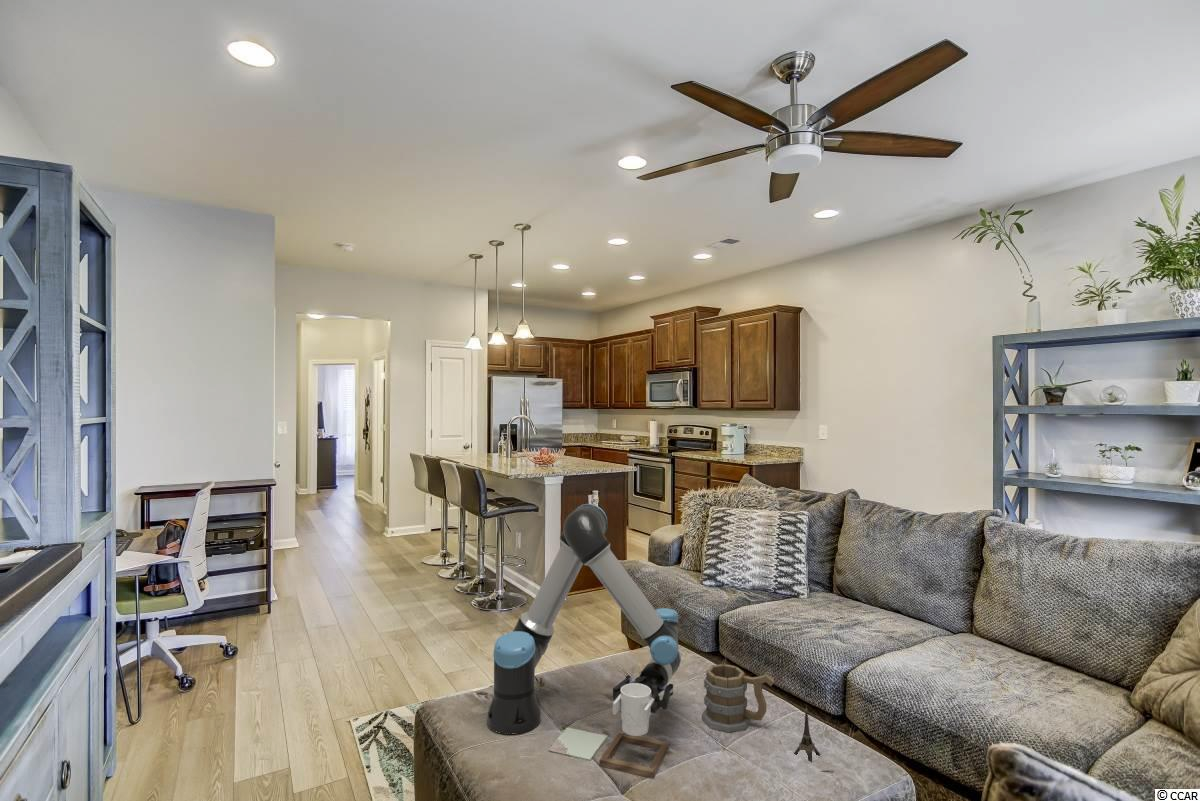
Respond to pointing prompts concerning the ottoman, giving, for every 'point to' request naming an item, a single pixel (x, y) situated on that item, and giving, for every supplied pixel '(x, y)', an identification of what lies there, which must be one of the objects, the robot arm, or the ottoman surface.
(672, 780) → the ottoman surface
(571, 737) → the sage tile
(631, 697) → the white cup
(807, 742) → the eiffel tower figurine
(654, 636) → the robot arm
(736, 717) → the tankard
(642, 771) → the walnut collar
